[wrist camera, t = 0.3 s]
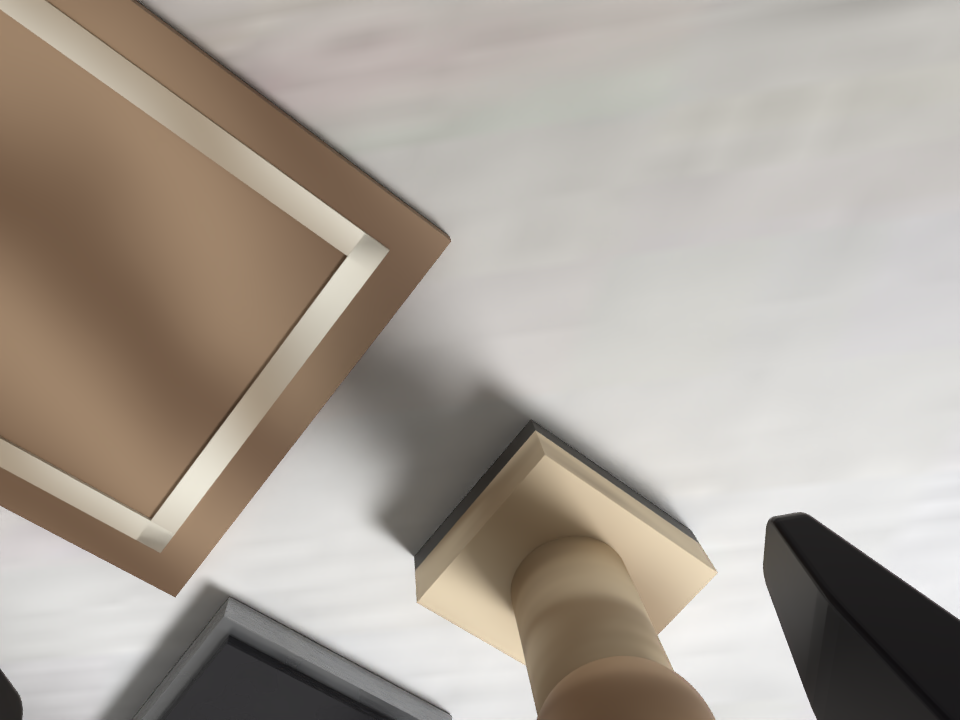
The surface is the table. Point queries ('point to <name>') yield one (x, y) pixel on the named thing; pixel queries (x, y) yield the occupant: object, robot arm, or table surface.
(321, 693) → the ink pad
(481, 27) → the table surface
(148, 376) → the marked board
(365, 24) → the table surface
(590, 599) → the wooden stamp
